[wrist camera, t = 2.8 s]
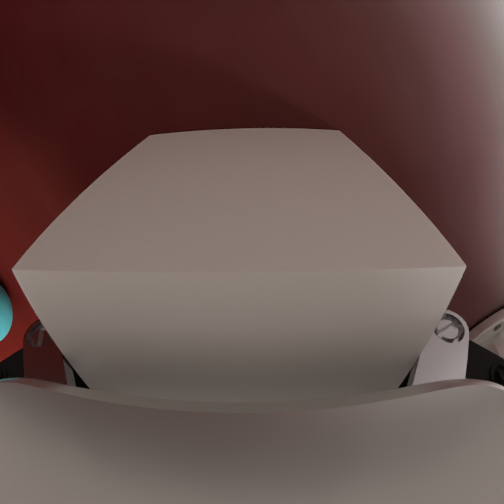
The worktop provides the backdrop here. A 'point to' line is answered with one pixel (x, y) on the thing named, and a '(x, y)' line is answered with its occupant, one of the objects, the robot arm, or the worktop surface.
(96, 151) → the worktop surface
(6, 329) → the ball
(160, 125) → the worktop surface
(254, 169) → the pale grey cube
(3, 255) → the worktop surface
